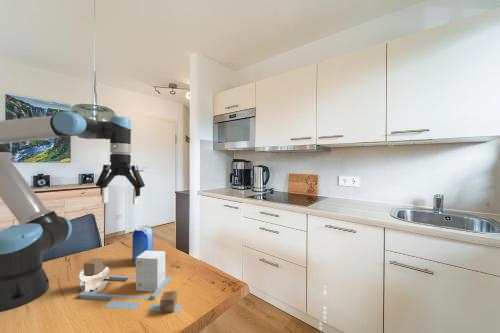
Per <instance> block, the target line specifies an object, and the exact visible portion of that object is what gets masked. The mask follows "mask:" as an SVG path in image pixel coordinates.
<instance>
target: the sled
mask: <svg viewBox="0 0 500 333" xmlns="http://www.w3.org/2000/svg"><path fill="white" fill-rule="evenodd" d="M102 271H103V272H104V257H103V258H99V257H92V258H91V259H89V260H87V261H85V262H84V263H83V276H84V275H85V276H93V275H97V274H99V273H100V272H102ZM108 275H109V276H108V277H109V280H108V281H116V282H117V281H120V282H121V281H122V282H123V281H124V282H127V280H128V279H135V280H136V276H129V275H114V274H113V275H112V274H108ZM171 279H172V276H171V275H167V276H165V280H164V281H163V282H162V283H161V285H160V286H159V287H158V288H157V289H156V291H155V292H153V293H152V294H151V295H150V296H145V295H143V296H142V295H126V294H113V293H112V294H111V293H97V292H88V293H87V292H85V291H84V290H82V292H80V293H78V294H77V296H76V297H77V299H87V300H101V301H102V300H104V301H112V299H113V298H124V299H125V298H126V299H140V300H142V299H143V300H152V301H153V300H156V299H157V298H158V296H159V295H160V293H161V292H162V291H163V290H164V289H165V287H166V286H167V284H168V283H169V282H170V281H171Z"/></svg>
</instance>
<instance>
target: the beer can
mask: <svg viewBox="0 0 500 333" xmlns="http://www.w3.org/2000/svg"><path fill="white" fill-rule="evenodd" d="M144 251H154V231H153V229H152V226H150V225H141V226H137V227H135V228H134V230H133V232H132V254H131V255H132V263H133V264H134V265H135V266H136V257H138V256H139V255H140V254H142V253H143V252H144Z"/></svg>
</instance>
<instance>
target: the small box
mask: <svg viewBox="0 0 500 333" xmlns="http://www.w3.org/2000/svg"><path fill="white" fill-rule="evenodd" d="M135 277H136V279H135V291H137V292H150V293H151V292H153V293H154V292H155V291H156V289H157V288H158V287H159V286H160V285H161V283H162V282H163V281H164V280H165V278H166V251H164V250H153V251H144V252H143V253H142V254H140V255H139V256H138V257H136V265H135Z"/></svg>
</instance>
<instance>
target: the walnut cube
mask: <svg viewBox="0 0 500 333" xmlns="http://www.w3.org/2000/svg"><path fill="white" fill-rule="evenodd" d="M177 298H178V292H177V290H173V291H171V290H169V291H164V292H163V294H162V295H161V298H160V299H159V301H160V302H159V304H160V311H159V314H162V313H163V314H165V313H166V314H167V313H175V312H174V310H175V307H176V305H178V304H177V302H178V299H177Z"/></svg>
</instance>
